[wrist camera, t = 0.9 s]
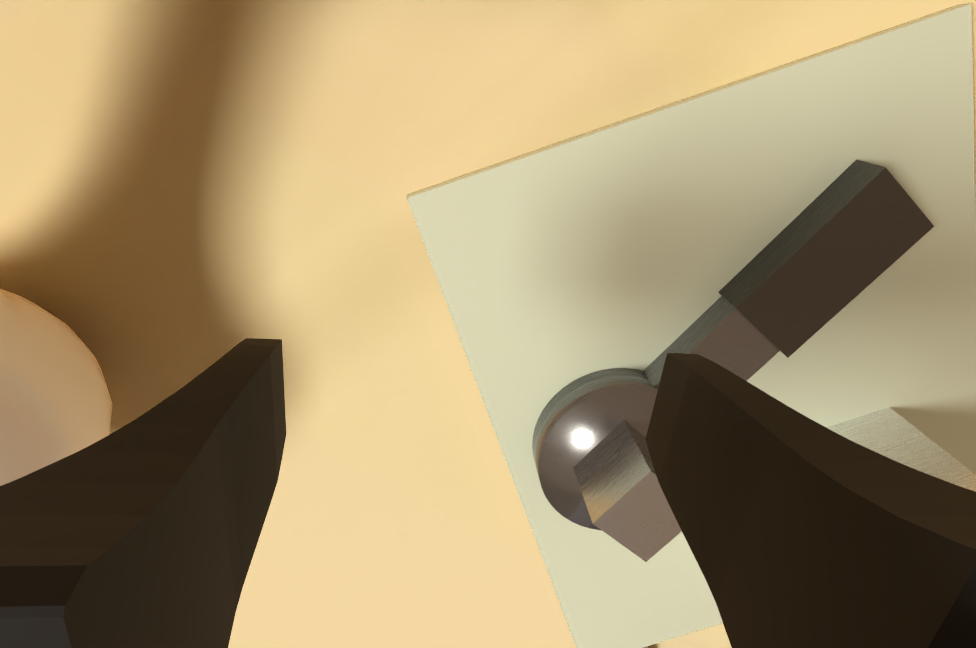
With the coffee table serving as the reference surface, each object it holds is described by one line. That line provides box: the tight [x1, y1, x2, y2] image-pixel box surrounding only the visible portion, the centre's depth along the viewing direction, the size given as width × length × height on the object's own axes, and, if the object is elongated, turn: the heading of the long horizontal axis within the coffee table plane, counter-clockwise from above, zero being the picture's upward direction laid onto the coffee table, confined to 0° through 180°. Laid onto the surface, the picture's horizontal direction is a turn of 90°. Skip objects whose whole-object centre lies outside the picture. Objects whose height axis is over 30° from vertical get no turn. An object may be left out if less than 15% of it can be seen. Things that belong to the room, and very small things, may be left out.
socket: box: [826, 407, 976, 492], centre depth 24 cm, size 5×5×6 cm
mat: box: [407, 4, 976, 648], centre depth 25 cm, size 22×18×1 cm
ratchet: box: [532, 159, 934, 562], centre depth 22 cm, size 16×6×4 cm, turn 138°
